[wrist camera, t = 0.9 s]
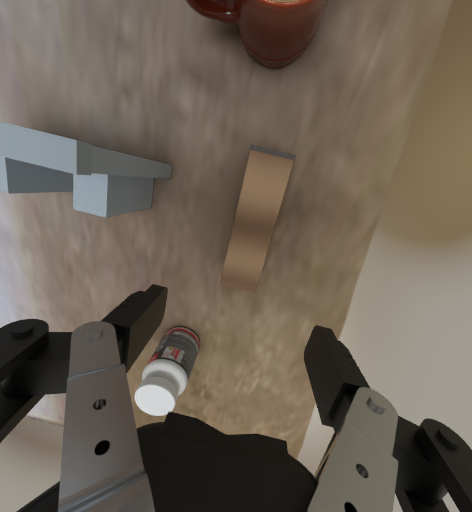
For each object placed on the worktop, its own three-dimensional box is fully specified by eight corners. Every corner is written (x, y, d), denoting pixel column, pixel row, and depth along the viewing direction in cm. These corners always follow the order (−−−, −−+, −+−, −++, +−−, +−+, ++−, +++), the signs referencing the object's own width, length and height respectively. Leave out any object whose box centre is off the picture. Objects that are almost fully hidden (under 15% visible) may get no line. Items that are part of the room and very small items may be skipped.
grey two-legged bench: (41, 132, 26) (-214, 69, 12) (174, 164, 26) (76, 140, 12) (43, 181, 28) (-176, 177, 14) (168, 211, 28) (76, 239, 14)
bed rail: (251, 153, 25) (250, 144, 20) (286, 162, 25) (296, 155, 20) (226, 265, 30) (219, 284, 24) (255, 272, 30) (255, 293, 24)
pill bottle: (166, 321, 33) (131, 375, 24) (203, 330, 33) (182, 388, 24) (162, 351, 35) (128, 412, 26) (197, 360, 35) (175, 424, 26)
